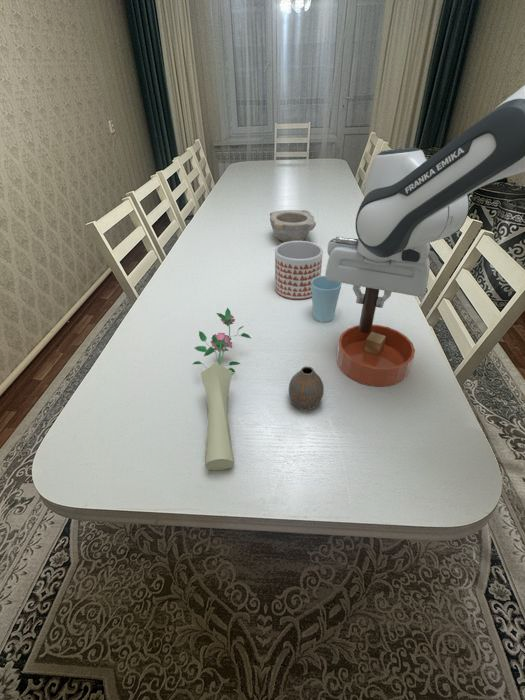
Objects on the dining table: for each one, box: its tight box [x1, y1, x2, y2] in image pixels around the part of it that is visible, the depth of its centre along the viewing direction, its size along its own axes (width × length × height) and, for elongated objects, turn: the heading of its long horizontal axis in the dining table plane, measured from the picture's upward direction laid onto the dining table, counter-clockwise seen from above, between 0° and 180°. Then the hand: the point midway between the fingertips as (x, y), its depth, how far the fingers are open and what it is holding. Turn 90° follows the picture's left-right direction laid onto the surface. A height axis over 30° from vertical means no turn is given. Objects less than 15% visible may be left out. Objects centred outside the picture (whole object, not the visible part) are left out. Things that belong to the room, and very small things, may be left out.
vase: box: [288, 365, 325, 411], centre depth 71 cm, size 7×7×9 cm
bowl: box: [336, 324, 416, 387], centre depth 81 cm, size 16×16×5 cm
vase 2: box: [274, 240, 324, 300], centre depth 106 cm, size 14×14×13 cm
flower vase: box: [192, 307, 252, 471], centre depth 72 cm, size 12×12×35 cm
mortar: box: [269, 209, 317, 243], centre depth 139 cm, size 17×17×9 cm
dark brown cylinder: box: [358, 287, 380, 333], centre depth 77 cm, size 3×3×13 cm
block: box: [364, 332, 386, 355], centre depth 84 cm, size 4×4×4 cm
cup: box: [311, 275, 343, 323], centre depth 95 cm, size 8×8×10 cm
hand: (369, 304), depth 78 cm, fingers closed on dark brown cylinder, 3 cm apart
